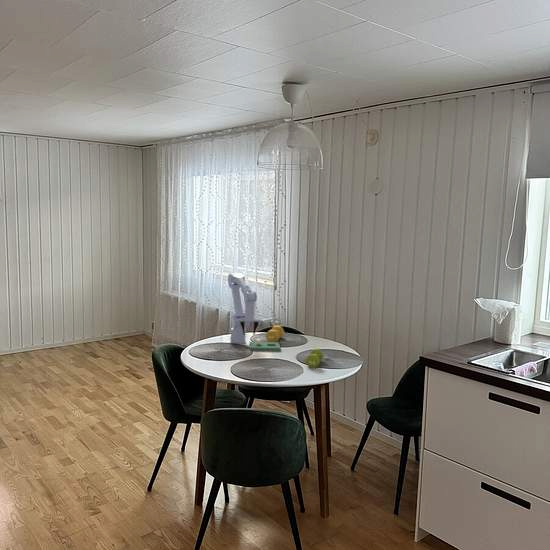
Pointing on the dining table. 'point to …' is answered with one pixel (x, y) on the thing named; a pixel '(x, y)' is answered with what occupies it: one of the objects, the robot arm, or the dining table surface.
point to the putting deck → (265, 346)
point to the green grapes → (314, 358)
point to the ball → (258, 341)
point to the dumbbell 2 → (274, 334)
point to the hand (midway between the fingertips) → (248, 334)
